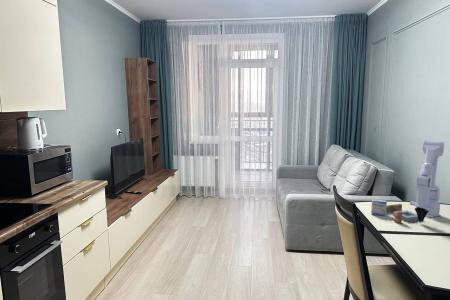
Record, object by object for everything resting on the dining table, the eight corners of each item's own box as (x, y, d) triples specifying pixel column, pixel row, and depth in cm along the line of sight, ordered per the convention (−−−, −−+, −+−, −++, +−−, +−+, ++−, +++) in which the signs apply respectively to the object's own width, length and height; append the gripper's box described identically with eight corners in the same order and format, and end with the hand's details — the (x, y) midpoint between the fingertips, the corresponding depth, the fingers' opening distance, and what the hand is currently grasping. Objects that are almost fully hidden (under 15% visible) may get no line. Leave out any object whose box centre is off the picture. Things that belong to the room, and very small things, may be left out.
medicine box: (371, 214, 191) (372, 200, 189) (370, 212, 195) (371, 198, 194) (386, 216, 188) (387, 202, 187) (385, 213, 192) (386, 200, 191)
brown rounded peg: (398, 220, 180) (398, 210, 179) (403, 223, 177) (403, 212, 176) (392, 221, 179) (393, 211, 179) (397, 223, 176) (398, 213, 175)
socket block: (406, 214, 191) (407, 210, 190) (421, 220, 181) (421, 215, 181) (393, 216, 188) (393, 211, 188) (406, 222, 178) (407, 217, 178)
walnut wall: (397, 209, 200) (397, 202, 200) (401, 210, 197) (402, 204, 196) (378, 211, 197) (378, 204, 196) (382, 213, 193) (383, 206, 193)
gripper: (406, 194, 179) (404, 217, 181) (428, 201, 165) (426, 226, 167) (416, 193, 181) (414, 216, 183) (439, 200, 167) (437, 225, 169)
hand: (420, 221), depth 175 cm, fingers closed
